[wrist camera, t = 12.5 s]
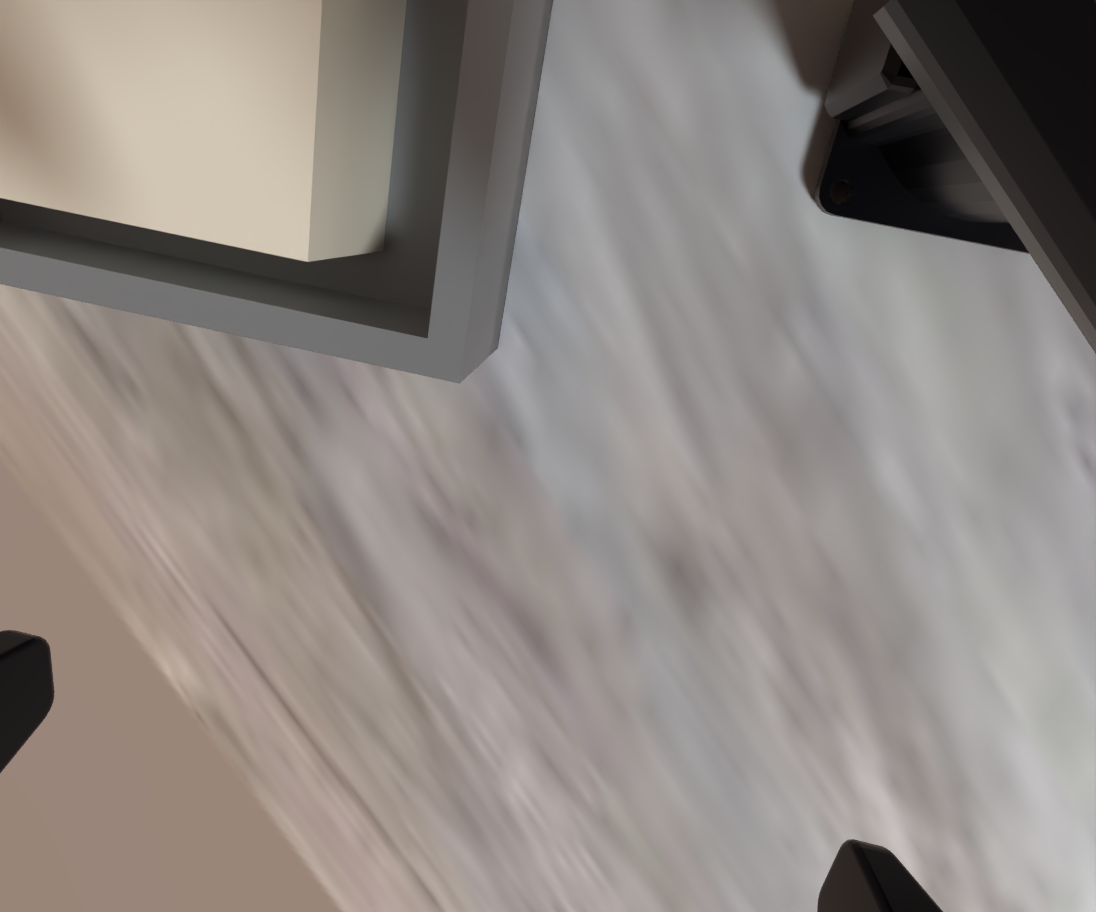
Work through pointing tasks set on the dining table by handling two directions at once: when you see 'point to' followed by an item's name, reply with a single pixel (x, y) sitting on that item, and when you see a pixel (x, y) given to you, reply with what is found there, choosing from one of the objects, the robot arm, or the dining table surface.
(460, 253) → the tray
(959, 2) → the robot arm
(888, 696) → the dining table surface
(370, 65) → the cream beveled block
